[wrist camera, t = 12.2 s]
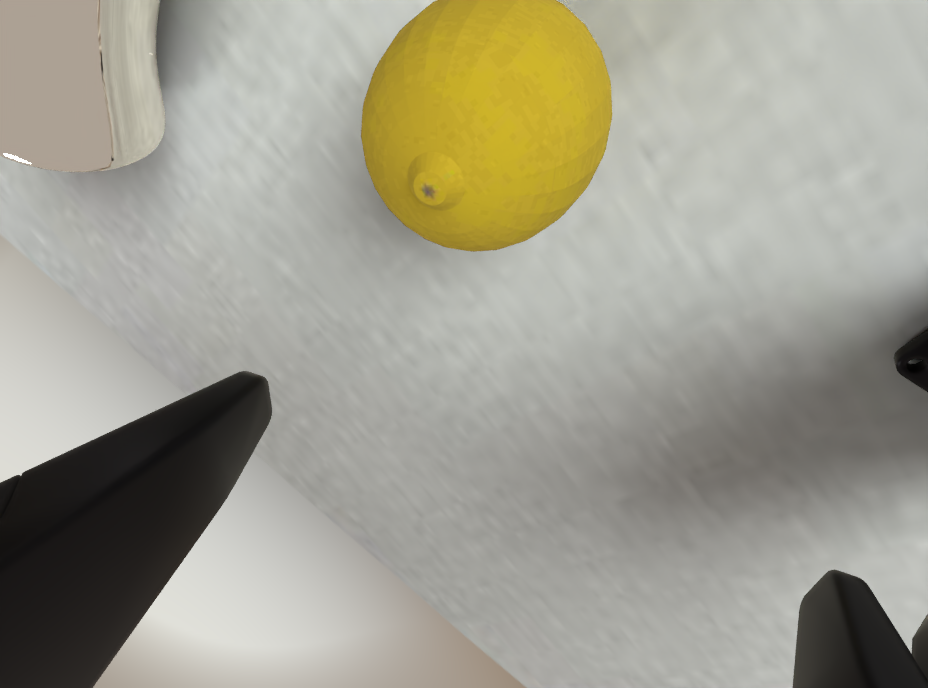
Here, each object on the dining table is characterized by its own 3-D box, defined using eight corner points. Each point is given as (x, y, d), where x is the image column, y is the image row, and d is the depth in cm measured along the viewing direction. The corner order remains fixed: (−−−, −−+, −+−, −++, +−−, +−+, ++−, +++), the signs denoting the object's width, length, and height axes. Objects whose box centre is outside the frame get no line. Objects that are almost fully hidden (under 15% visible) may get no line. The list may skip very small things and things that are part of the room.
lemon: (405, 41, 18) (247, 136, 12) (567, -92, 15) (455, -48, 9) (506, 197, 20) (411, 343, 14) (668, 109, 17) (630, 251, 11)
